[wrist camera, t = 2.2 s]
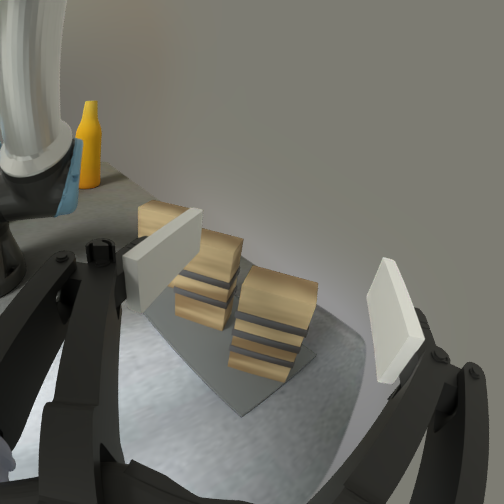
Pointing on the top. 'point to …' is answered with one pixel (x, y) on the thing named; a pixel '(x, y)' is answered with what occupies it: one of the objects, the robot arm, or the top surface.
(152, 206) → the banded wooden block
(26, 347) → the robot arm
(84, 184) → the beer bottle
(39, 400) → the top surface
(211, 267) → the wooden block
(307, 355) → the mat
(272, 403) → the top surface
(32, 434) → the top surface
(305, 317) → the striped wooden block
